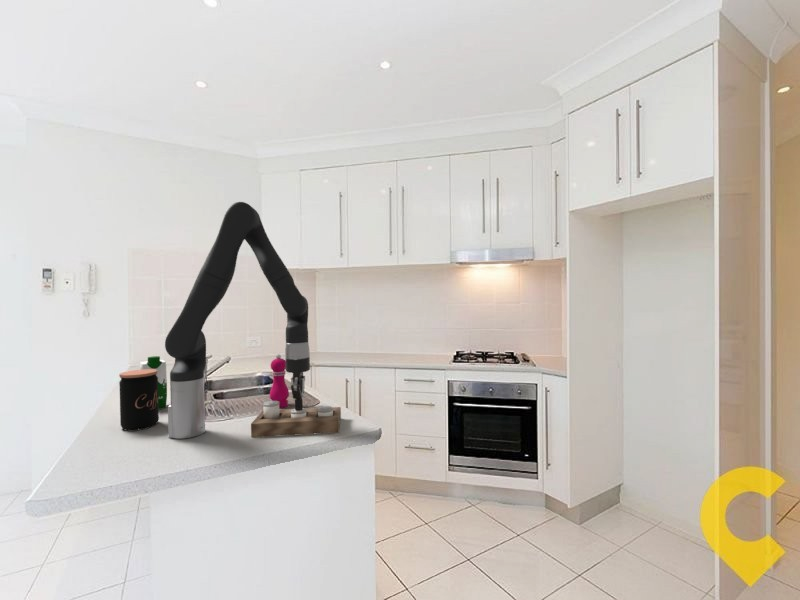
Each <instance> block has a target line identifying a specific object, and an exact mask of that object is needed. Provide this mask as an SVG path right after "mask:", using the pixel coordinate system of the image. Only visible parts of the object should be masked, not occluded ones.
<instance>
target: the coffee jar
mask: <svg viewBox="0 0 800 600" xmlns="http://www.w3.org/2000/svg"><path fill="white" fill-rule="evenodd" d="M157 372H158V370H155V369H143V370H140V369H135V370H128V371H127V370H126V371H124V372H121V373H119V375H118V377H119V378H120V381H119V414H120V415H119V416H120V419H119V421H120V427H121V428H122V429H123V430H124V429H126V430H125V431H129V430H132V431H139V430H138V429H141V430H145V428H146V429H149V428H151V427H154V426H156V425H157V423H158V422H159V419H160V416H159V415H160V414H159V413H160V411H159V410H160V409H159V405H158V377H157V376H156V374H157ZM148 427H149V428H148Z"/></svg>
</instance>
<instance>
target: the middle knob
mask: <svg viewBox="0 0 800 600" xmlns="http://www.w3.org/2000/svg"><path fill="white" fill-rule="evenodd" d="M291 409H292V410H291V418H300V417H306V409H307V407H306V408H304V407H303V409H302V410H301V411H296V410H295V408H291Z"/></svg>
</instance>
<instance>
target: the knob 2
mask: <svg viewBox="0 0 800 600" xmlns="http://www.w3.org/2000/svg"><path fill="white" fill-rule="evenodd" d="M333 407H334V406H333ZM333 407H332V406H328V405H327V406H325V405H324V406H320V407H317V408H318V417H321V416H333Z"/></svg>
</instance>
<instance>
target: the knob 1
mask: <svg viewBox="0 0 800 600" xmlns="http://www.w3.org/2000/svg"><path fill="white" fill-rule="evenodd" d="M262 408H263V410H262V411H264V419H279V410H280V408H279V401H272V400H269V401H267V400H266V401H265V402H263V407H262Z"/></svg>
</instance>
